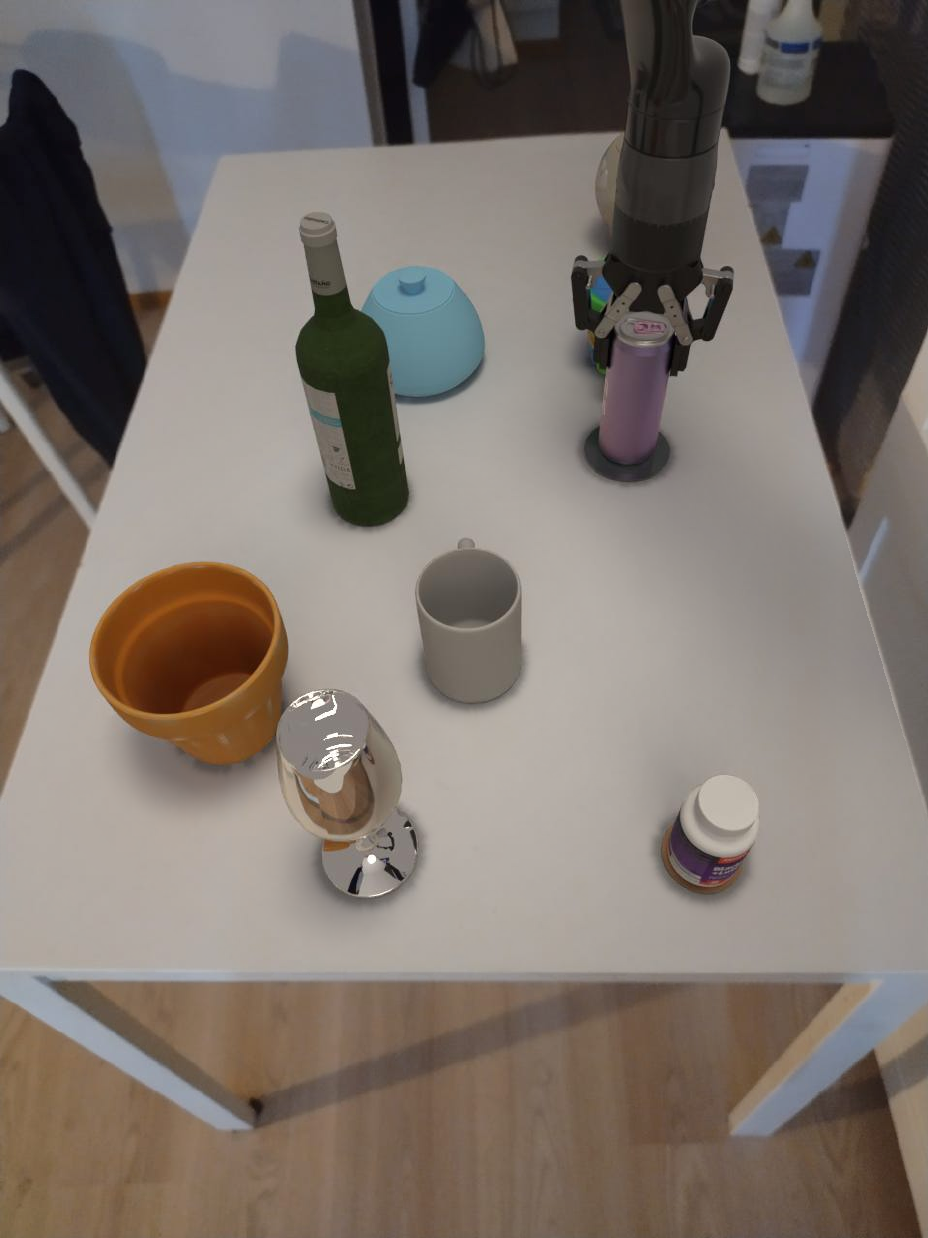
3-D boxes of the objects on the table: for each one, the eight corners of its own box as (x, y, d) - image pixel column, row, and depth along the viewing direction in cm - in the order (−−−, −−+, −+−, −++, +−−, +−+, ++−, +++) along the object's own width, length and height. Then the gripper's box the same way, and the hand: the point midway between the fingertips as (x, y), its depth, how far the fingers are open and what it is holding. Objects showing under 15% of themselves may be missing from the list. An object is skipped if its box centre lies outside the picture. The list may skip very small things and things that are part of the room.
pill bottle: (711, 904, 63) (739, 857, 55) (651, 854, 65) (670, 803, 57) (753, 852, 65) (786, 800, 57) (694, 805, 67) (718, 749, 59)
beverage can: (654, 469, 88) (677, 347, 76) (595, 465, 89) (609, 343, 77) (656, 430, 92) (678, 307, 80) (599, 426, 92) (613, 303, 80)
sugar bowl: (386, 314, 106) (374, 225, 97) (502, 334, 103) (500, 244, 93) (337, 391, 98) (318, 302, 89) (460, 416, 95) (453, 326, 86)
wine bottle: (424, 488, 89) (389, 208, 64) (378, 538, 85) (323, 262, 61) (363, 461, 92) (308, 182, 67) (317, 508, 88) (241, 232, 64)
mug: (525, 701, 74) (527, 628, 65) (426, 707, 74) (414, 635, 65) (514, 590, 81) (514, 510, 72) (424, 596, 81) (412, 517, 72)
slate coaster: (672, 426, 92) (673, 424, 92) (666, 486, 87) (666, 484, 87) (589, 417, 94) (589, 415, 94) (578, 476, 89) (578, 474, 89)
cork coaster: (743, 824, 66) (744, 823, 66) (740, 900, 63) (741, 899, 63) (664, 810, 67) (665, 809, 67) (658, 885, 64) (658, 883, 64)
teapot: (584, 214, 117) (593, 84, 104) (685, 207, 117) (706, 76, 103) (601, 293, 107) (613, 159, 93) (711, 286, 106) (739, 151, 93)
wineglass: (309, 893, 65) (240, 782, 49) (332, 797, 69) (275, 666, 53) (411, 906, 64) (374, 797, 48) (427, 808, 69) (399, 678, 52)
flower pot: (230, 625, 80) (186, 533, 69) (346, 698, 75) (318, 611, 64) (115, 739, 74) (47, 657, 63) (234, 827, 68) (182, 754, 58)
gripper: (565, 214, 67) (557, 386, 81) (755, 226, 65) (714, 401, 78) (578, 165, 71) (568, 336, 85) (757, 175, 69) (717, 349, 83)
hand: (638, 367), depth 82 cm, fingers closed on beverage can, 6 cm apart
